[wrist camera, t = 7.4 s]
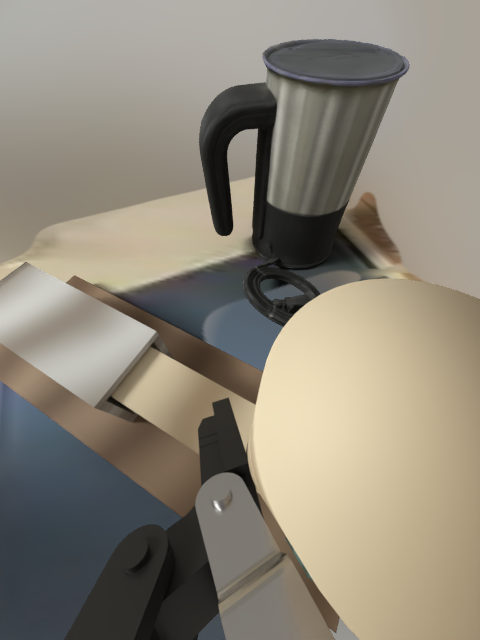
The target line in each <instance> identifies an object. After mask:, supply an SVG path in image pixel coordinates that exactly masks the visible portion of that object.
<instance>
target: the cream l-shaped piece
mask: <svg viewBox="0 0 480 640" xmlns="http://www.w3.org/2000/svg"><path fill="white" fill-rule="evenodd" d="M110 396H111V397H113V398H114V399H116V400H117V401H119V402H120V403H122V404H123V405H125V406H126V407H128V408H130V409H131V410H133V411H134V412H136V413H137V414H139V415H140V416H142V417H143V418H145V419H146V420H148V421H149V422H151V423H152V424H154V425H155V426H157V427H158V428H160V429H161V430H163V431H165V432H166V433H168V434H169V435H171V436H172V437H174V438H175V439H177V440H178V441H180V442H181V443H183V444H184V445H186V446H187V447H189V448H190V449H192V450H193V451H195V452H196V453H198V454H199V439H198V428H199V425H200V423H201V421H202V419H204V418H207V417H210V416H213V415H214V411H213V406H212V402H216V401H219V400H222V399H225V398H228V397H229V400H230V403H231V407H232V410H233V413H234V416H235V419H236V423H237V426H238V429H239V432H240V435H241V439H242V442H243V445H244V448H245V451H246V455H247V458H248V463H249V468H250V473H251V476H252V479H253V482H254V484H255V487H256V491H257V493H259V494H260V495H261V497H262V498H263V500H264V501H265V503H266V505H267V506H268V508H269V510H270V511H271V513H272V514H273V516H274V518H275V519H276V521H277V523H278V524H279V526H280V527H281V529H282V531H283V532H284V534H285V535H286V537H287V539H288V540H289V542H290V544H291V545H292V547H293V548H294V550H295V552H296V553H297V555H298V557H299V558H300V560H301V561H302V563H303V565H304V566H305V568H306V569H307V571H308V573H309V574H310V576H311V578H312V579H313V581H314V582H315V584H316V586H317V587H318V589H319V590H320V592H321V593H322V594H323V596H324V597H325V598H326V600H327V601H328V602H329V603H330V605H331V606H332V607H333V609H334V610H335V611H336V613H337V614H338V615H339V617H340V618H341V619H342V621H343V622H344V623H345V625H346V626H347V627H348V628H349V629H350V630H351V631H352V632H353V633H354V634H355V635H356V636H357V637H358V638H359V640H480V299H478V298H475V297H473V296H470V295H467V294H465V293H462V292H459V291H457V290H453V289H450V288H446V287H443V286H439V285H435V284H430V283H426V282H421V281H413V280H405V279H372V280H364V281H358V282H353V283H349V284H346V285H342V286H339V287H336V288H334V289H331V290H329V291H327V292H325V293H323V294H321V295H319V296H317V297H316V298H314V299H313V300H311V301H310V302H308V303H307V304H306V305H304V306H303V307H302V308H301V309H300V310H299V311H298V312H296V313H295V314H294V315H293V317H292V318H291V319H290V320H289V321H288V322H287V324H286V325H285V326H284V327H283V329H282V330H281V332H280V334H279V335H278V337H277V338H276V340H275V342H274V344H273V346H272V349H271V351H270V353H269V355H268V358H267V361H266V364H265V368H264V371H263V375H262V379H261V383H260V388H259V393H258V397H257V402H256V405H255V404H253V403H251V402H249V401H248V400H246V399H244V398H242V397H240V396H239V395H237V394H235V393H233V392H231V391H230V390H228V389H226V388H224V387H222V386H221V385H219V384H217V383H215V382H213V381H212V380H210V379H208V378H206V377H204V376H203V375H201V374H199V373H197V372H195V371H194V370H192V369H190V368H188V367H186V366H185V365H183V364H181V363H179V362H177V361H176V360H174V359H172V358H170V357H168V356H167V355H165V354H163V353H161V352H159V351H158V350H156V349H154V348H152V347H149V348H148V349H147V351H146V352H145V353H144V354H143V356H142V357H141V358H140V359H139V361H138V362H137V363H136V364H135V366H134V367H133V368H132V369H131V370H130V372H129V373H128V374H127V375H126V377H125V378H124V379H123V380H122V382H121V383H120V384H119V385H118V387H117V388H116V389H115V390H114V392H113V393H112V394H111V395H110Z"/></svg>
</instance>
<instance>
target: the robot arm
mask: <svg viewBox="0 0 480 640" xmlns="http://www.w3.org/2000/svg"><path fill="white" fill-rule="evenodd" d="M212 406H213V411H214V415H213V416H210V417H207V418H204V419H202V421H201V423H200V425H199V428H198V439H199V455H200V472H201V488H200V490H199V492H198V494H197V497H196V501H195V505H194V506H193V508H192V509H191V510H190V511H189V512H188V513H187V514H186V515H185V516H184V517H183V518H182V519H181V520H179V521H178V522H176V523H175V524H174V525H172V526H171V527H170V528H168V529H167V530H166V531H164V529H163V528H162V527H160V526H158V525H154V524H151V525H145V526H142V527H140V528H138V529H136V530H134V531H133V532H132V533H130V534H129V535H128V536H127V537H126V538H125V539H124V540H123V541H122V542H121V543H120V544H119V545H118V547H117V548H116V549H115V551H114V552H113V554H112V556H111V557H110V559H109V561H108V563H107V564H106V566H105V568H104V570H103V572H102V573H101V575H100V577H99V579H98V581H97V582H96V584H95V586H94V588H93V589H92V591H91V593H90V595H89V597H88V598H87V600H86V602H85V604H84V606H83V607H82V609H81V611H80V613H79V615H78V616H77V618H76V620H75V622H74V623H73V625H72V627H71V629H70V631H69V632H68V634H67V636H66V638H65V640H197V638H198V633H199V632H200V631H201V630H202V629H203V628H204V627H205V626H206V625H207V624H208V623H209V622H210V621H211V620H212V619H213V618H214V617H215V616H216V615H217V614H218V613H219V612H220V616H221V621H222V625H223V629H224V633H225V637H226V640H335V639H334V637H333V635H332V633H331V631H330V630H329V628H328V626H327V624H326V622H325V620H324V619H323V617H322V615H321V613H320V611H319V609H318V608H317V606H316V604H315V602H314V600H313V599H312V597H311V595H310V593H309V591H308V589H307V588H306V586H305V584H304V582H303V580H302V578H301V577H300V575H299V573H298V571H297V569H296V568H295V566H294V564H293V563H292V561H291V559H290V558H289V556H288V555H287V554H286V553H282V552H281V551H280V549H279V547H278V545H277V544H276V542H275V540H274V538H273V536H272V534H271V532H270V530H269V528H268V526H267V525H266V523H265V521H264V518H263V514H262V510H261V506H260V503H259V499H258V495H257V491H256V487H255V484H254V482H253V479H252V476H251V473H250V468H249V463H248V458H247V455H246V451H245V448H244V445H243V442H242V439H241V435H240V432H239V429H238V426H237V423H236V419H235V416H234V413H233V410H232V407H231V403H230V400H229V397H228V398H225V399H222V400H219V401H216V402H212Z"/></svg>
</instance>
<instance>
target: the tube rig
mask: <svg viewBox="0 0 480 640" xmlns="http://www.w3.org/2000/svg"><path fill="white" fill-rule="evenodd" d="M149 347H152V348H154V349H156V350H158V351H159V352H161V353H163V354H165V355H167V356H168V357H170V358H172V359H174V360H176V361H177V362H179V363H181V364H183V365H185V366H186V367H188V368H190V369H192V370H194V371H195V372H197V373H199V374H201V375H203V376H204V377H206V378H208V379H210V380H212V381H213V382H215V383H217V384H219V385H221V386H222V387H224V388H226V389H228V390H230V391H231V392H233V393H235V394H237V395H239V396H240V397H242V398H244V399H246V400H248V401H249V402H251V403H253V404H255V405H256V402H257V397H258V393H259V388H260V383H261V379H262V375H263V372H262V371H260V370H258V369H257V368H255V367H252V366H251V365H249V364H247V363H245V362H243V361H241V360H239V359H237V358H235V357H233V356H231V355H229V354H227V353H225V352H223V351H221V350H219V349H217V348H216V347H213V346H211V345H210V344H208V343H206V342H204V341H202V340H200V339H198V338H196V337H194V336H192V335H190V334H188V333H186V332H184V331H182V330H180V329H178V328H176V327H174V326H173V325H171V324H169V323H167V322H165V321H163V320H161V319H159V318H157V317H155V316H153V315H151V314H149V313H147V312H145V311H143V310H141V309H139V308H137V307H135V306H133V305H132V304H130V303H128V302H126V301H124V300H122V299H120V298H118V297H116V296H114V295H112V294H110V293H108V292H106V291H104V290H102V289H100V288H98V287H96V286H94V285H92V284H90V283H89V282H87V281H85V280H83V279H81V278H79V277H77V276H75V275H74V276H73V277H72V278H71V279H70V280H69V281H67V282H66V283H65V282H63V281H61V280H59V279H57V278H55V277H53V276H51V275H50V274H48V273H46V272H44V271H42V270H40V269H38V268H36V267H35V266H33V265H31V264H29V263H27V262H25V263H24V264H23V265H21V266H20V267H18V268H17V269H16V270H14V271H13V272H12V273H10V274H9V275H8V276H6V277H5V278H4V279H2V280H1V281H0V381H2V382H3V383H4V384H6V385H7V386H8V387H10V388H11V389H12V390H14V391H15V392H16V393H18V394H19V395H20V396H22V397H23V398H24V399H26V400H27V401H28V402H30V403H31V404H32V405H34V406H35V407H36V408H38V409H39V410H40V411H42V412H43V413H44V414H46V415H47V416H48V417H50V418H51V419H52V420H54V421H55V422H56V423H57V424H59V425H60V426H61V427H63V428H64V429H65V430H67V431H68V432H69V433H71V434H72V435H73V436H75V437H76V438H77V439H79V440H80V441H81V442H83V443H84V444H85V445H87V446H88V447H89V448H91V449H92V450H93V451H95V452H96V453H97V454H99V455H100V456H101V457H103V458H104V459H105V460H107V461H108V462H109V463H111V464H112V465H113V466H115V467H116V468H117V469H119V470H120V471H121V472H123V473H124V474H125V475H127V476H128V477H129V478H131V479H132V480H133V481H135V482H136V483H137V484H139V485H140V486H141V487H143V488H144V489H145V490H147V491H148V492H149V493H151V494H152V495H153V496H155V497H156V498H157V499H158V500H160V501H161V502H162V503H164V504H165V505H166V506H168V507H169V508H170V509H172V510H173V511H174V512H176V513H177V514H178V515H180V516H181V517H182V518H183V517H184V516H185V515H186V514H187V513H188V512H189V511H190V510H191V509H192V508H193V506H194V505H195V501H196V497H197V494H198V492H199V490H200V488H201V472H200V455H199V454H198V453H196V452H195V451H193V450H192V449H190V448H189V447H187V446H186V445H184V444H183V443H181V442H180V441H178V440H177V439H175V438H174V437H172V436H171V435H169V434H168V433H166V432H165V431H163V430H161V429H160V428H158V427H157V426H155V425H154V424H152V423H151V422H149V421H148V420H146V419H145V418H143V417H142V416H140V415H139V414H137V413H136V412H134V411H133V410H131V409H130V408H128V407H126V406H125V405H123V404H122V403H120V402H119V401H117V400H116V399H114V398H113V397H111V396H110V395H111V394H112V393H113V392H114V390H115V389H116V388H117V387H118V385H119V384H120V383H121V382H122V380H123V379H124V378H125V377H126V375H127V374H128V373H129V372H130V370H131V369H132V368H133V367H134V366H135V364H136V363H137V362H138V361H139V359H140V358H141V357H142V356H143V354H144V353H145V352H146V351H147V349H148V348H149ZM257 495H258V499H259V503H260V506H261V510H262V514H263V518H264V521H265V523H266V525H267V526H268V528H269V530H270V532H271V534H272V536H273V538H274V540H275V542H276V544H277V545H278V547H279V549H280V551H281V552H282V553H286V554H287V555H288V556H289V558H290V559H291V561H292V563H293V564H294V566H295V568H296V569H297V571H298V573H299V575H300V577H301V578H302V580H303V582H304V584H305V586H306V588H307V589H308V591H309V593H310V595H311V597H312V599H313V600H314V602H315V604H316V606H317V608H318V609H319V611H320V613H321V615H322V617H323V619H324V620H325V622H326V624H327V626H328V627H329V628H330V629H332V630H333V631H334V632H335V633H336V630H337V626H338V622H339V618H340V617H339V615H338V614H337V613H336V611H335V610H334V609H333V607H332V606H331V605H330V603H329V602H328V601H327V600H326V598H325V597H324V596H323V594H322V593H321V592H320V590H319V589H318V587H317V586H316V584H315V582H314V581H313V579H312V578H311V576H310V574H309V573H308V571H307V569H306V568H305V566H304V565H303V563H302V561H301V560H300V558H299V557H298V555H297V553H296V552H295V550H294V548H293V547H292V545H291V544H290V542H289V540H288V539H287V537H286V535H285V534H284V532H283V531H282V529H281V527H280V526H279V524H278V523H277V521H276V519H275V518H274V516H273V514H272V513H271V511H270V510H269V508H268V506H267V505H266V503H265V501H264V500H263V498H262V497H261V495H260V494H259V493H257Z"/></svg>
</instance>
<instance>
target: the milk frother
mask: <svg viewBox="0 0 480 640" xmlns="http://www.w3.org/2000/svg"><path fill="white" fill-rule="evenodd" d="M263 60H264V63H265V65H266V67H267V80H266V82H264V83H256V84H247V85H238V86H234V87H231V88H228V89H226V90H225V91H223V92H222V93H220V94H219V95H218V96H217V97H216V98H215V99H214V100H213V102H212V103H211V104H210V105H209V107H208V109H207V110H206V112H205V115H204V117H203V119H202V122H201V127H200V136H199V137H200V138H199V145H200V154H201V160H202V166H203V172H204V177H205V183H206V189H207V194H208V199H209V204H210V209H211V215H212V220H213V224H214V228H215V230H216V232H217V233H218V234H219V235H221V236H228V235H230V234H231V232H232V230H233V216H232V204H231V193H230V183H229V174H228V163H227V150H228V145H229V143H230V141H231V139H232V138H233V137H234V136H235V135H236V134H238V133H239V132H240V131H243V130H246V129H257V128H258V138H257V139H258V140H257V153H256V171H255V188H254V207H253V221H252V227H253V234H252V241H253V245H254V247H255V249H256V251H257V252H258V253H259V254H260V255H261V256H262V257H263V258H264V259H266V260H267V261H268V262H266V263H264V264H260V265H258V266H256V267H254V268H253V269H251V270H250V271H249V272H248V273H247V275H246V276H245V278H244V281H243V290H244V293H245V295H246V297H247V299H248V300H249V302H250V303H251V304H252V305H253V306H254V308H255V309H257V310H258V311H259V312H260V313H261V314H263V315H264V316H265V317H267V318H268V319H270V320H272V321H273V322H275V323H277V324H279V325H281V326H283V327H284V326H285V325H286V324H287V322H288V321H289V320H290V319H291V318H292V317H293V315H294V314H295V313H296V312H298V311H299V310H300V309H301V308H302V307H303V306H304V305H306V304H307V303H308V302H310V301H311V300H313V299H314V298H316V297H317V296H319V295H321V294H320V293H319V291H318V290H317V289H316V288H315V287H314V286H313V285H312V284H311V283H310V282H308V281H307V280H305V279H303V278H301V277H300V276H298V275H296V274H294V273H292V272H289V271H286V270H283V269H279V268H272V267H267V266H269V265H272V264H275V265H277V266H280V267H284V268H291V269H295V268H297V269H300V268H301V269H302V268H309V267H312V266H315V265H318V264H320V263H321V262H323V261H324V260H325V259H327V258H328V257H329V255H330V254H331V252H332V249H333V244H334V241H333V240H334V238H335V235H336V232H337V229H338V227H339V224H340V222H341V219H342V216H343V214H344V211H345V209H346V206H347V204H348V202H349V199H350V196H351V194H352V192H353V189H354V187H355V184H356V182H357V179H358V177H359V175H360V172H361V170H362V167H363V165H364V163H365V160H366V158H367V155H368V153H369V150H370V148H371V146H372V143H373V141H374V138H375V136H376V133H377V131H378V128H379V125H380V123H381V121H382V118H383V116H384V113H385V111H386V109H387V106H388V104H389V101H390V99H391V96H392V94H393V92H394V89H395V86H396V84H397V82H398V80H399V78H400V77H402V76H403V75H404V74H405V73H406V72H407V71H408V69H409V62H408V60H407V59H406V58H405V57H403V56H401V55H399V54H398V53H396V52H395V51H392V50H391V49H388V48H384V47H381V46H378V45H373V44H369V43H361V42H355V41H348V40H334V39H328V40H327V39H324V40H318V39H317V40H316V39H314V40H298V41H290V42H285V43H280V44H278V45H274V46H271V47H269V48H268V49H267V50H265V52H263ZM265 279H278V280H282V281H285V282H287V283H290V284H292V285H294V286H295V287H297V288H298V289H300V290H301V291H302V292H304V293H305V294H304V295H300V296H295V297H288V298H287V297H286V298H285V299H284V300H278V299H274V301H271V300H269V299H268V298H267V297H266V296H265V295H264V294H263V292H262V291H261V289H260V282H262V281H263V280H265Z"/></svg>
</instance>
